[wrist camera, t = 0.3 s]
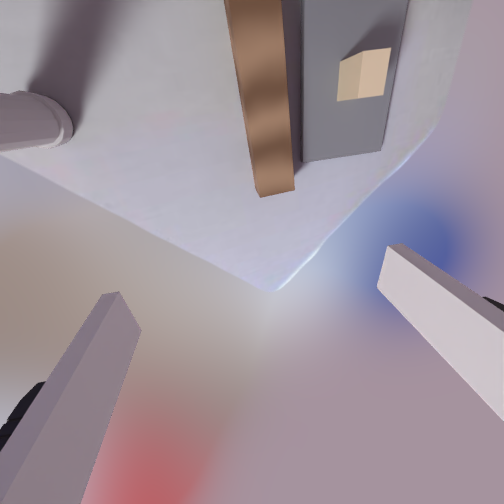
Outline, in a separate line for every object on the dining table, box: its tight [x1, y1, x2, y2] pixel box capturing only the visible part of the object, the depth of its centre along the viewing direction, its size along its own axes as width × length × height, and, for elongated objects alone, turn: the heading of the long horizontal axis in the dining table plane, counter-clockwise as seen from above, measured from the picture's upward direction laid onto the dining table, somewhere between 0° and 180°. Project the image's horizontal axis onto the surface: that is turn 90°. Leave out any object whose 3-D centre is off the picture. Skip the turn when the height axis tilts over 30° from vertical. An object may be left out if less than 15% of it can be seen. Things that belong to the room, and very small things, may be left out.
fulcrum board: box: [301, 0, 408, 163], centre depth 26 cm, size 18×12×6 cm, turn 7°
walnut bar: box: [224, 0, 295, 198], centre depth 26 cm, size 24×5×4 cm, turn 10°
